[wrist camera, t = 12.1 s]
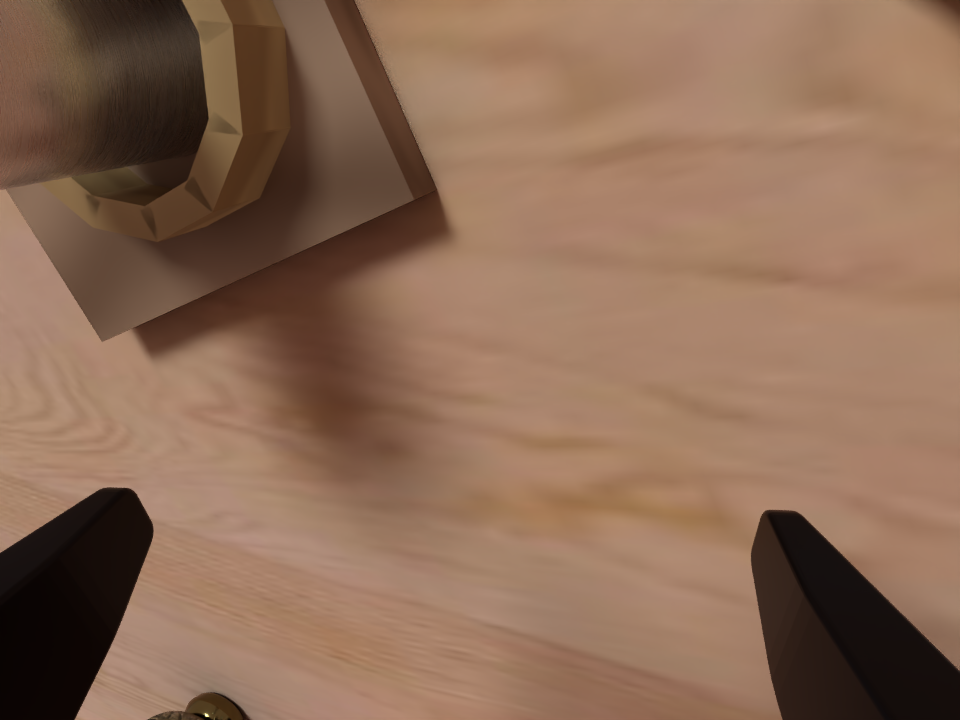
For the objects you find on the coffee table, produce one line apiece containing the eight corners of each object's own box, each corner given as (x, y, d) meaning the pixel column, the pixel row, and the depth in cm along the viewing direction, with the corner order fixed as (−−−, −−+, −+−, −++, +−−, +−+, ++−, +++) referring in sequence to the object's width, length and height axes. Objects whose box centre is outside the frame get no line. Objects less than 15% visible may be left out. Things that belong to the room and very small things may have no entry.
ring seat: (436, 189, 18) (378, 215, 15) (133, 327, 25) (54, 363, 22) (139, -489, 14) (-22, -635, 11) (-126, -97, 21) (-266, -121, 18)
